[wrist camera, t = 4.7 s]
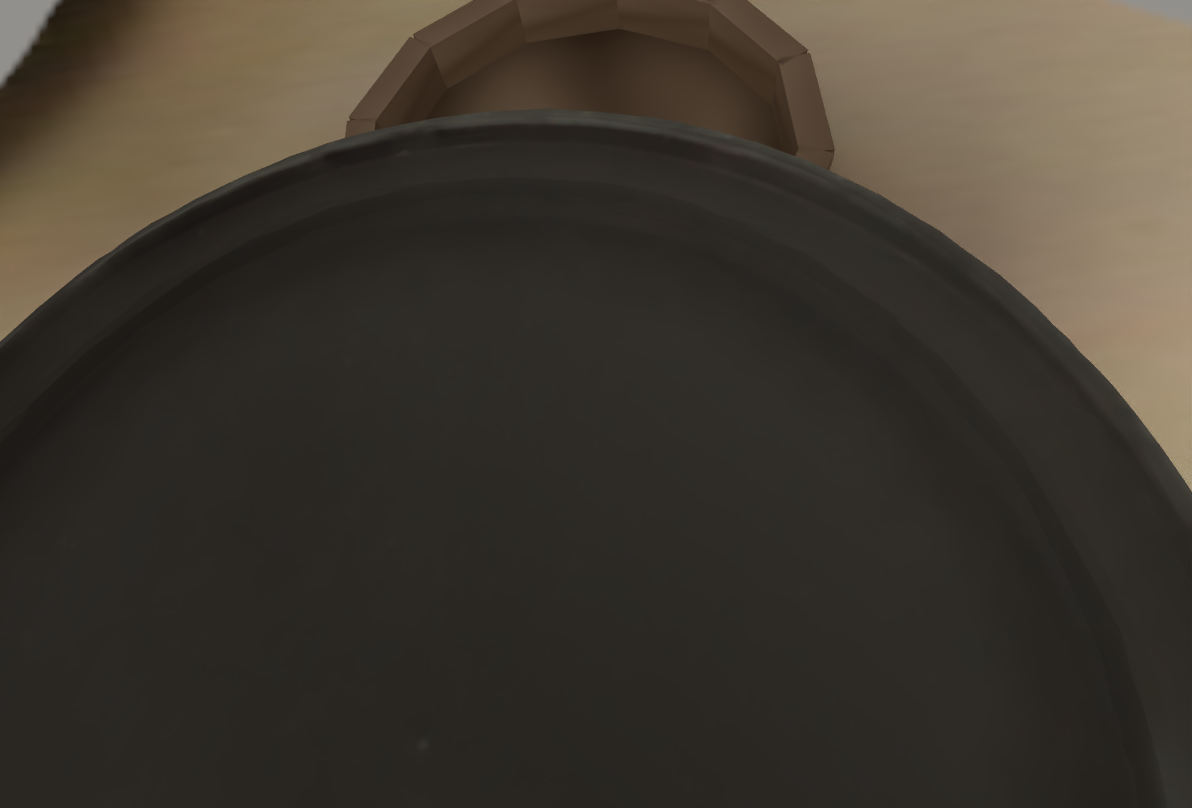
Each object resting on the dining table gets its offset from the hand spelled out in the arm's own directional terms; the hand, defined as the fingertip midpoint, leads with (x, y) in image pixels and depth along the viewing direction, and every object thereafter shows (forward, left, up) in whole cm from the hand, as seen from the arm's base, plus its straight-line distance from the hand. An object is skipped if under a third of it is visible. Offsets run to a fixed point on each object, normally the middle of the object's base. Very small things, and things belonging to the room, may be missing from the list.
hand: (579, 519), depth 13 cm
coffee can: (0, -3, -6) cm, 7 cm away
